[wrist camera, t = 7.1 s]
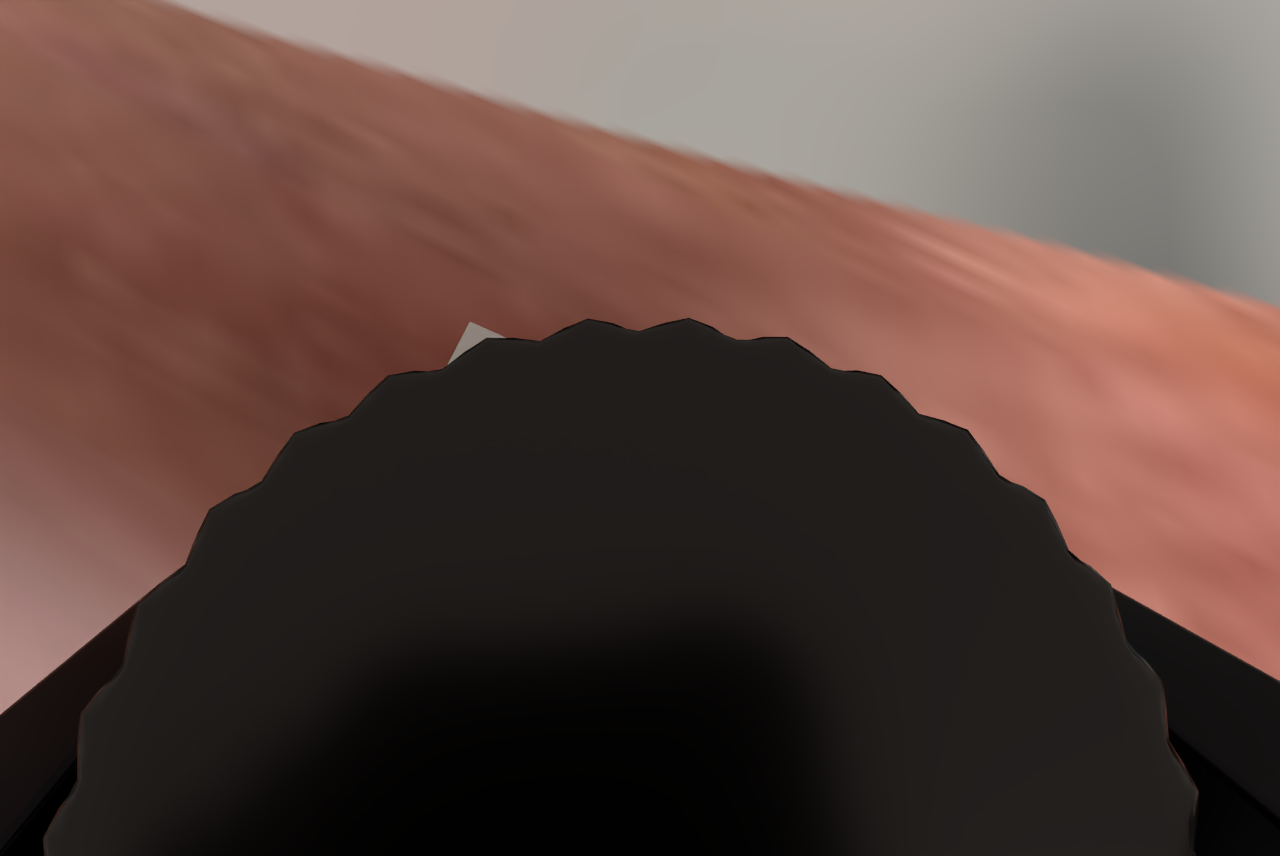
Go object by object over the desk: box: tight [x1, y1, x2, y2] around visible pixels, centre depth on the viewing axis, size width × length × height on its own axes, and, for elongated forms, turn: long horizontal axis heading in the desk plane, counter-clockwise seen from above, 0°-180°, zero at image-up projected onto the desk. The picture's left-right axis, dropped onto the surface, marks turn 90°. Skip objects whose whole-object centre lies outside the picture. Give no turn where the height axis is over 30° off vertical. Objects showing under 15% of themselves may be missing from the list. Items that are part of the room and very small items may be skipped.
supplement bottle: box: [43, 318, 1199, 856], centre depth 10 cm, size 7×7×12 cm
